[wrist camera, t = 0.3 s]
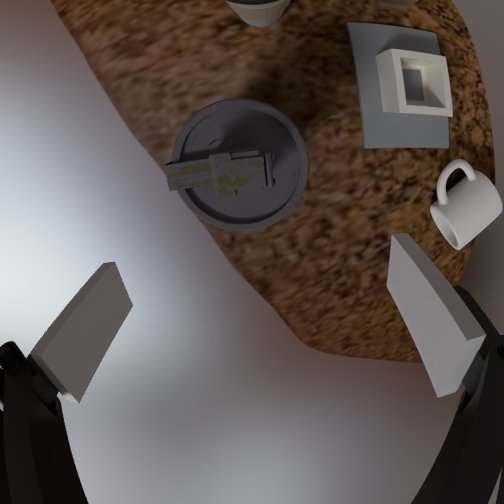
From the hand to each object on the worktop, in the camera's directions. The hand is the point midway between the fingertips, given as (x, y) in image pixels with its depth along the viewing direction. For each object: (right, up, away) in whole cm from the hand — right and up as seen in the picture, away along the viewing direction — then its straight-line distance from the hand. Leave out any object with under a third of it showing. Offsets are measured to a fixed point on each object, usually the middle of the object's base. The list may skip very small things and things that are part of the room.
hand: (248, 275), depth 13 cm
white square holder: (+21, +23, +16) cm, 35 cm away
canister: (0, +15, +23) cm, 28 cm away
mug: (+31, +11, +23) cm, 40 cm away
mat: (+21, +24, +17) cm, 36 cm away
